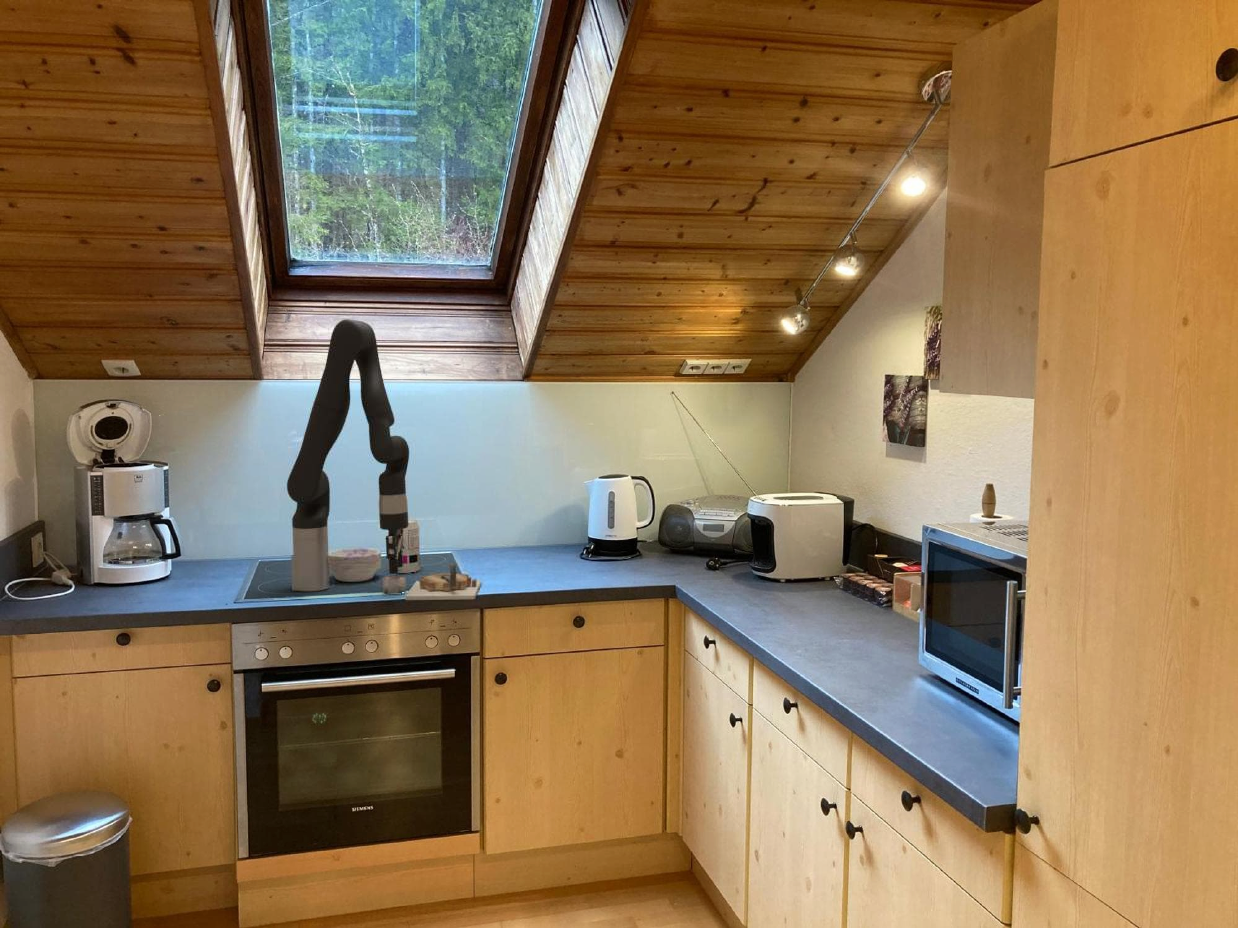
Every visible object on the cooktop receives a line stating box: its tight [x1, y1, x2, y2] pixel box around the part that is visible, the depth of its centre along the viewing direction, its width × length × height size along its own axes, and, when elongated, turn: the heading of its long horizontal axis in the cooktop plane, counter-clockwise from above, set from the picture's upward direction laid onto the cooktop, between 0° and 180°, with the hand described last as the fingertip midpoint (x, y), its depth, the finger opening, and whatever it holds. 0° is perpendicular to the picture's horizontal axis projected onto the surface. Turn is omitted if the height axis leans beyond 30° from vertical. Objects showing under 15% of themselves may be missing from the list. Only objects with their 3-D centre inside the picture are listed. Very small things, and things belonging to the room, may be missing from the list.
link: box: [382, 575, 407, 595], centre depth 277 cm, size 3×6×4 cm, turn 93°
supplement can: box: [391, 519, 421, 574], centre depth 304 cm, size 8×8×15 cm
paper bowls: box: [328, 548, 382, 583], centre depth 294 cm, size 15×15×8 cm
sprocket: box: [418, 564, 472, 591], centre depth 279 cm, size 14×16×7 cm
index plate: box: [404, 578, 482, 601], centre depth 278 cm, size 18×19×3 cm
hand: (396, 570), depth 277 cm, fingers open, 8 cm apart
